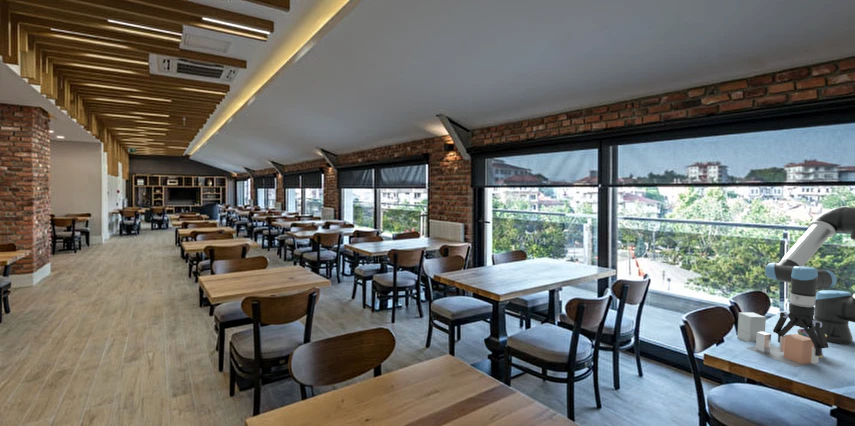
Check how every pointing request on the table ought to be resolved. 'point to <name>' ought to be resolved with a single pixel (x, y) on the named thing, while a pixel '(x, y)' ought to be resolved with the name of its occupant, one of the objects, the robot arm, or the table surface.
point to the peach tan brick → (798, 348)
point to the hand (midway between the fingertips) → (797, 356)
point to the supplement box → (750, 325)
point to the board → (780, 356)
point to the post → (763, 342)
